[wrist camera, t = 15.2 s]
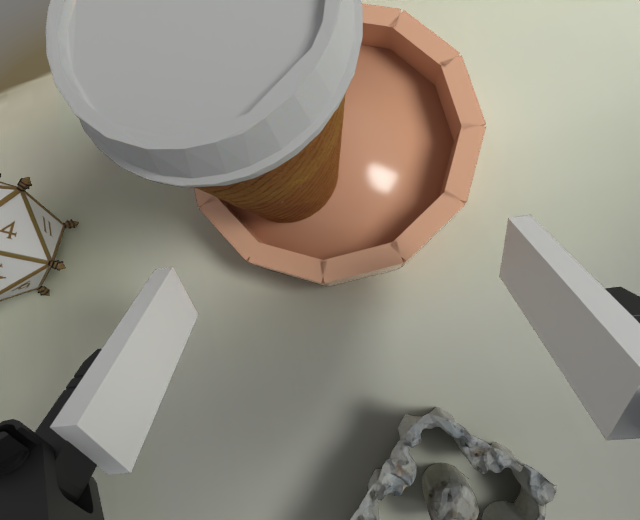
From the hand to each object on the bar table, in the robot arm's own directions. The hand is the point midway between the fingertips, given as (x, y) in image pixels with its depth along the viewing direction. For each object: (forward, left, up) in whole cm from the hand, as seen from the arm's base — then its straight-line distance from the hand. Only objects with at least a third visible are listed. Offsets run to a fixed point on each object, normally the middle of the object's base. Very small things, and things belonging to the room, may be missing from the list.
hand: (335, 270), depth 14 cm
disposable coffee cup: (+7, -2, -6) cm, 10 cm away
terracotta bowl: (+7, -5, -7) cm, 11 cm away
